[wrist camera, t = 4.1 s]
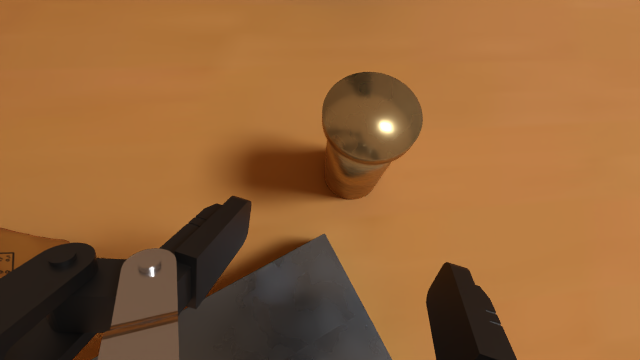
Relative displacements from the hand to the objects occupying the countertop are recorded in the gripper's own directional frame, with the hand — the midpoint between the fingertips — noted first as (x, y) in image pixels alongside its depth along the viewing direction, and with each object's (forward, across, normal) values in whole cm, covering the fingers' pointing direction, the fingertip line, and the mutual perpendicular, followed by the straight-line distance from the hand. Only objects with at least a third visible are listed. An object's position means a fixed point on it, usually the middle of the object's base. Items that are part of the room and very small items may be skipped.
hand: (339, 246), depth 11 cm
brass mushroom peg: (+14, 0, +3) cm, 14 cm away
